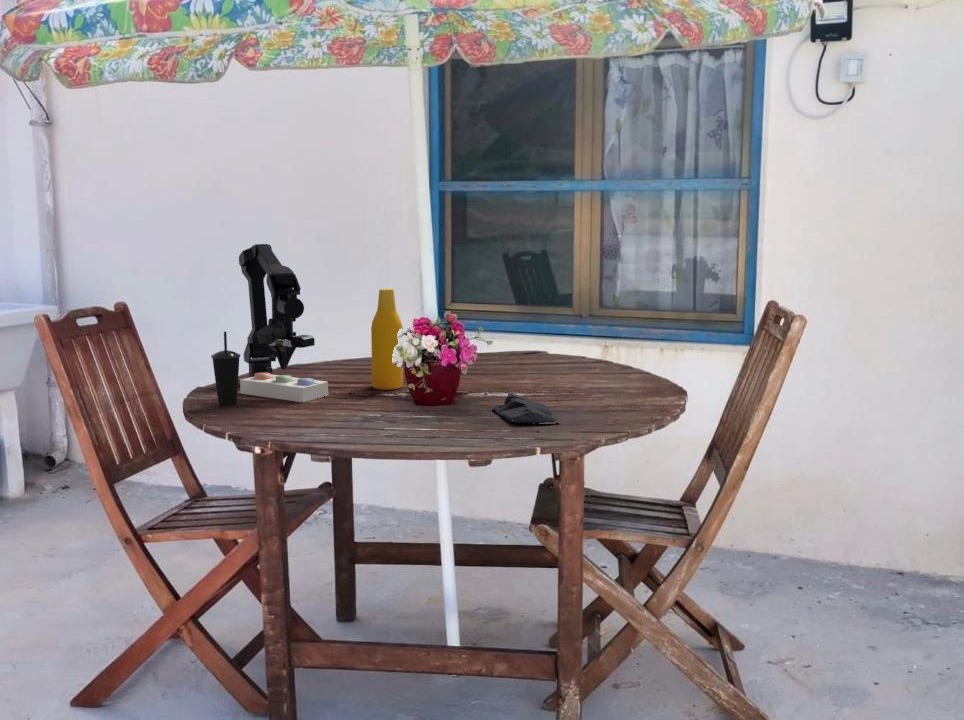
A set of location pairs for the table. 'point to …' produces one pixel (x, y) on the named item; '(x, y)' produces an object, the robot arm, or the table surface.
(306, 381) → the button slate
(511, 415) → the dark slate chunk
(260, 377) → the button terracotta
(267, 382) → the console
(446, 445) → the table surface
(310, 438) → the table surface
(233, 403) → the drinking cup
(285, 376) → the button sage
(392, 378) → the beer bottle
